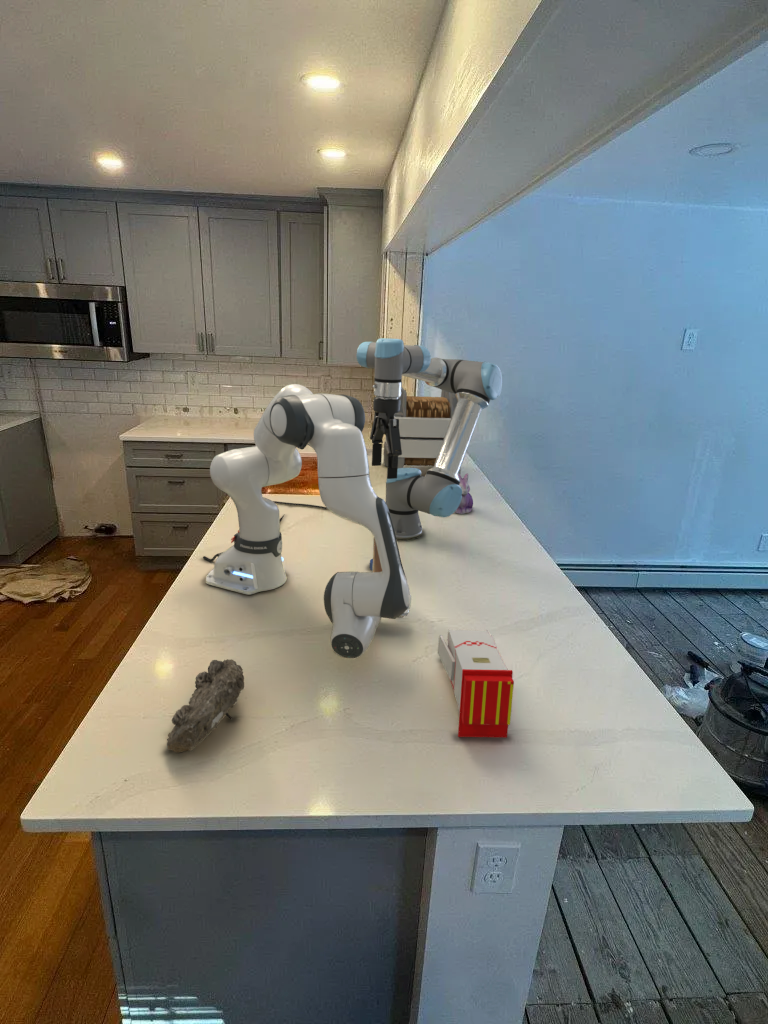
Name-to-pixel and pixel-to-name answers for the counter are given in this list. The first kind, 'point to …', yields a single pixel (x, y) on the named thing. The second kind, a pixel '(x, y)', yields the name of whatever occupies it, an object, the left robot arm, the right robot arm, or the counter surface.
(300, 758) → the counter surface
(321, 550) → the counter surface
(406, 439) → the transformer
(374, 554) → the jar
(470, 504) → the figurine
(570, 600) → the counter surface
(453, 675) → the toy
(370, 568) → the lid
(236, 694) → the fossil
